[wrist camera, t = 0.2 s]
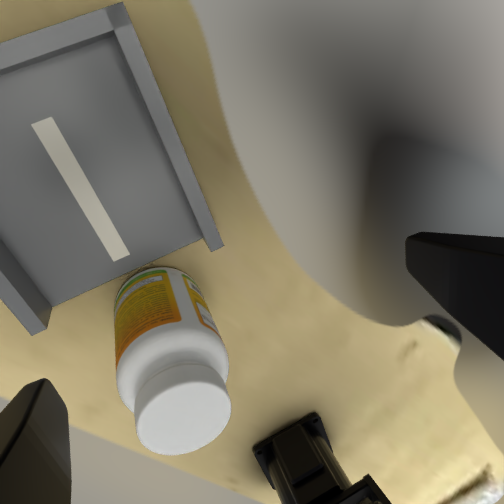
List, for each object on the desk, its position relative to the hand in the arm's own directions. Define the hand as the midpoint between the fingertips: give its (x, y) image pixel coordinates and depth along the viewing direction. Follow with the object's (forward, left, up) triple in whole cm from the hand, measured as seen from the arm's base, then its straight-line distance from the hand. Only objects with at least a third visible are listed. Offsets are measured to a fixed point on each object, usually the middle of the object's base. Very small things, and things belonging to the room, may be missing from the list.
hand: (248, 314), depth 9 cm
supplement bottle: (-7, +4, -14) cm, 16 cm away
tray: (+2, +4, -14) cm, 15 cm away
